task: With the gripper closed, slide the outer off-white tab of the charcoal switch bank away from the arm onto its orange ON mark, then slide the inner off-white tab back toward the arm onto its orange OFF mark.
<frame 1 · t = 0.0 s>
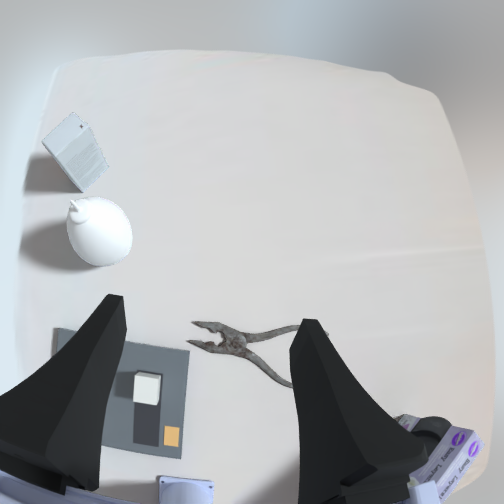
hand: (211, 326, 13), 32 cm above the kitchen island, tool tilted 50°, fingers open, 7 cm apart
skincare box: (88, 173, 46), on the kitchen island
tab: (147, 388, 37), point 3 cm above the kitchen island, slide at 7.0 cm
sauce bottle: (113, 246, 44), on the kitchen island
pliers: (260, 357, 45), on the kitchen island
switch bank: (118, 395, 39), on the kitchen island
cake pan box: (377, 455, 43), on the kitchen island
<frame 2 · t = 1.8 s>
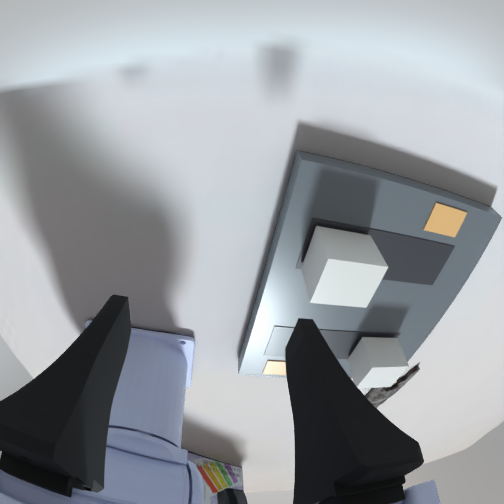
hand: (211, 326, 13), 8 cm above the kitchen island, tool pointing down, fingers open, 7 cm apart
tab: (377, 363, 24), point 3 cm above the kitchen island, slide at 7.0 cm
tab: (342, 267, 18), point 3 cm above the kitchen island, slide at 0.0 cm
pliers: (350, 405, 36), on the kitchen island
switch bank: (363, 293, 24), on the kitchen island
cake pan box: (202, 458, 46), on the kitchen island
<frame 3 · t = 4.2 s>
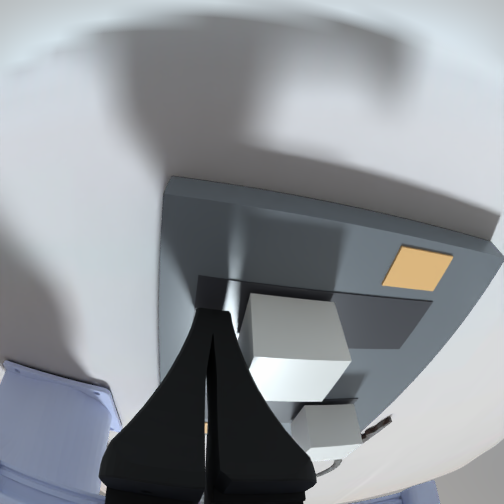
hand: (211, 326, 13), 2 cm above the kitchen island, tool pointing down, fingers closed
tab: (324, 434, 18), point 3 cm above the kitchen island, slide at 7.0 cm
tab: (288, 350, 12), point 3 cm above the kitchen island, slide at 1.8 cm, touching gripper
pliers: (314, 451, 31), on the kitchen island
switch bank: (304, 354, 18), on the kitchen island
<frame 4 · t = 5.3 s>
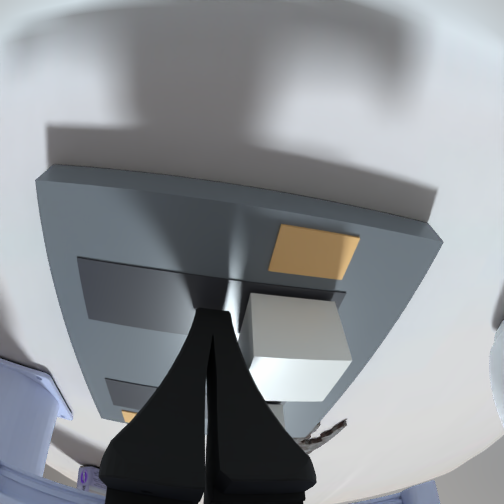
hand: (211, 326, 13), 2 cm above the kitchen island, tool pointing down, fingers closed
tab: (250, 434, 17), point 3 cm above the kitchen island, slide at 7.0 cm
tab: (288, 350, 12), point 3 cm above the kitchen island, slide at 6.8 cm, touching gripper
pliers: (272, 452, 30), on the kitchen island
switch bank: (219, 347, 17), on the kitchen island
cake pan box: (136, 481, 40), on the kitchen island
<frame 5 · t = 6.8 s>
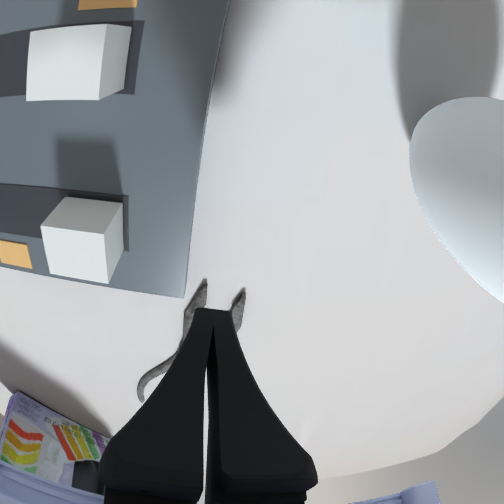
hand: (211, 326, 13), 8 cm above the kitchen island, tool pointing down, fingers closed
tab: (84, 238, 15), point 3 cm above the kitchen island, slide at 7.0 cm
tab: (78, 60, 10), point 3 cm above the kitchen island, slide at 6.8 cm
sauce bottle: (433, 139, 16), on the kitchen island
pliers: (180, 359, 28), on the kitchen island
switch bank: (65, 134, 15), on the kitchen island
cake pan box: (69, 421, 38), on the kitchen island
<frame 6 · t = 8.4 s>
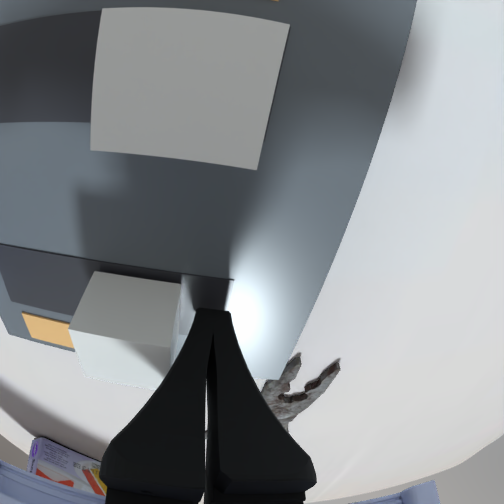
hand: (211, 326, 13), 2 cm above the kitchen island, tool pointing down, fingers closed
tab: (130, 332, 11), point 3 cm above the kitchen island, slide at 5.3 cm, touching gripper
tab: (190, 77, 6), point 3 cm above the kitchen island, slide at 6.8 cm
pliers: (244, 418, 24), on the kitchen island
switch bank: (128, 182, 11), on the kitchen island
cake pan box: (97, 461, 34), on the kitchen island
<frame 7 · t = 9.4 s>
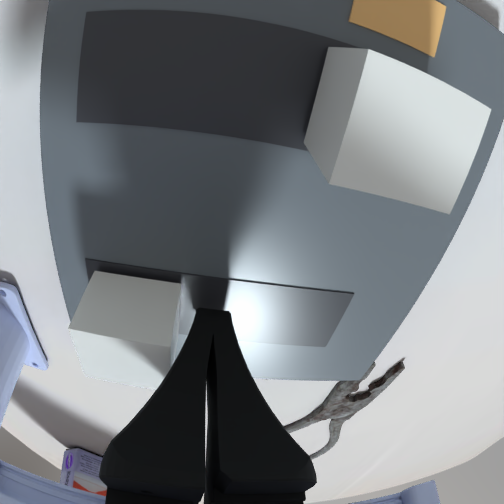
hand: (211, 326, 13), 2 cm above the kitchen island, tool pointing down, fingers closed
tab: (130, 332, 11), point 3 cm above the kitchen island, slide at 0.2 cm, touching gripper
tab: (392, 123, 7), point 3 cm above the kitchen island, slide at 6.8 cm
pliers: (302, 419, 25), on the kitchen island
switch bank: (260, 200, 12), on the kitchen island
cake pan box: (131, 469, 35), on the kitchen island
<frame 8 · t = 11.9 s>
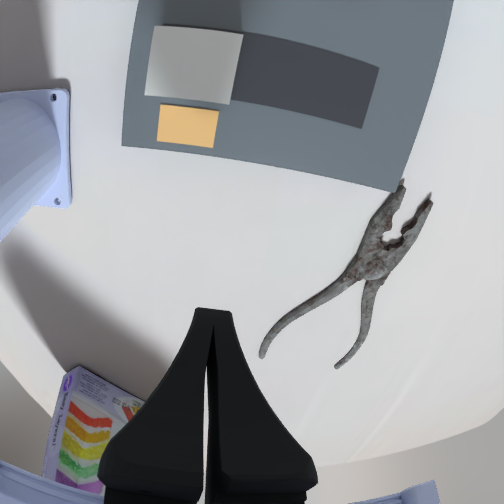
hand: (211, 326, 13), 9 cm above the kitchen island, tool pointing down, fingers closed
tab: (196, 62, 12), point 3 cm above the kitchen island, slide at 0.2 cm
pliers: (333, 291, 26), on the kitchen island
cake pan box: (137, 402, 35), on the kitchen island
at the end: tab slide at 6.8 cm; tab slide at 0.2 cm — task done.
